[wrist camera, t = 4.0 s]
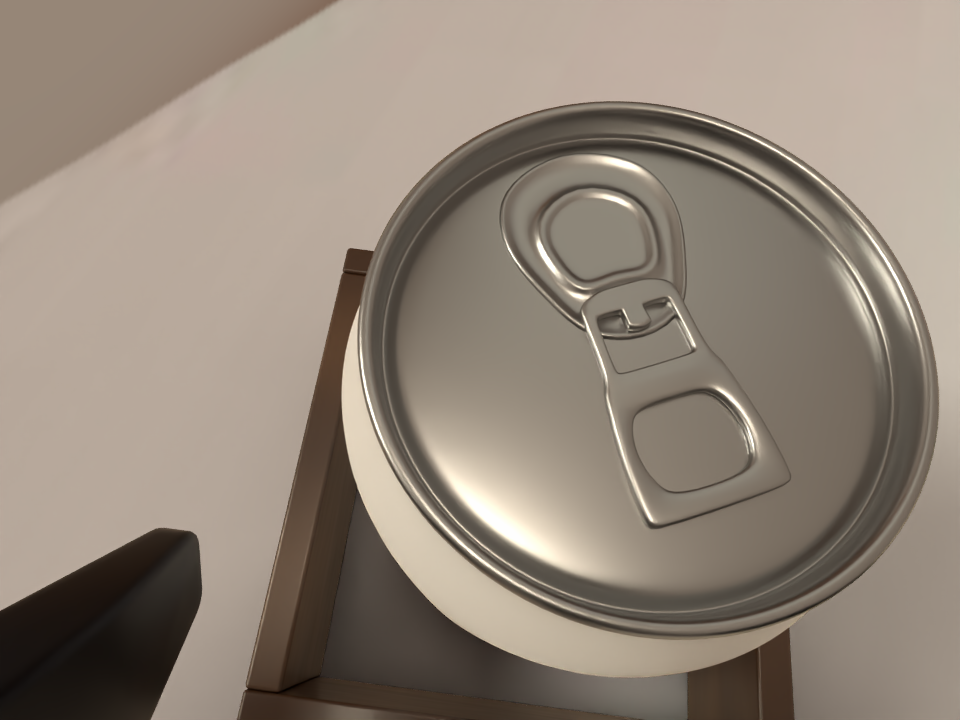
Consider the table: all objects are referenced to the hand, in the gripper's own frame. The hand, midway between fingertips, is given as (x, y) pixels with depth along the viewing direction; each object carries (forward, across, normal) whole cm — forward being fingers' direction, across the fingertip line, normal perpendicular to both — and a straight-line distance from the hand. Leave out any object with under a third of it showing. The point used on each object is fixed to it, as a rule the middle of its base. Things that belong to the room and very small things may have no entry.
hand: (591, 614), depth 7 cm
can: (+9, 0, +5) cm, 10 cm away
